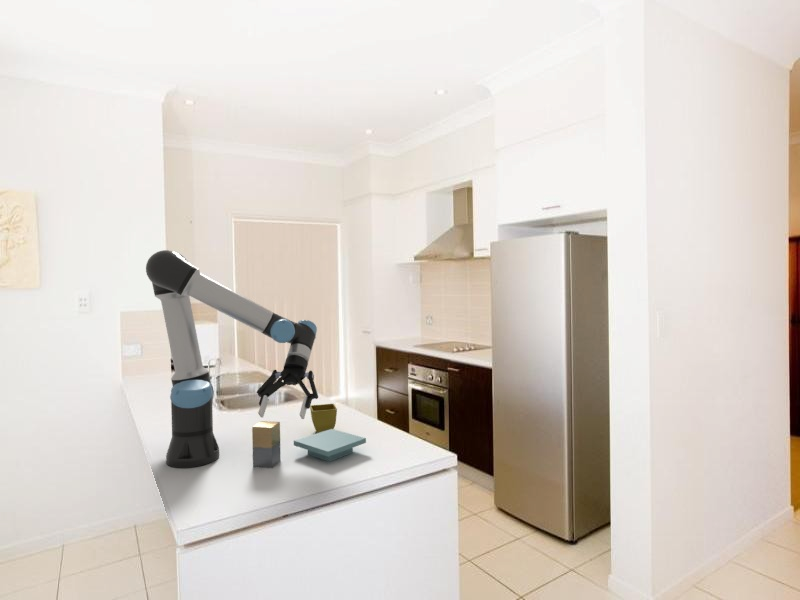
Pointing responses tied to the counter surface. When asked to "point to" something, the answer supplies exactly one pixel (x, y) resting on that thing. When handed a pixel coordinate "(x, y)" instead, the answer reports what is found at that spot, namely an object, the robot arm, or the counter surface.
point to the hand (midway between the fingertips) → (281, 416)
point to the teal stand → (329, 444)
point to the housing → (266, 444)
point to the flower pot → (323, 417)
